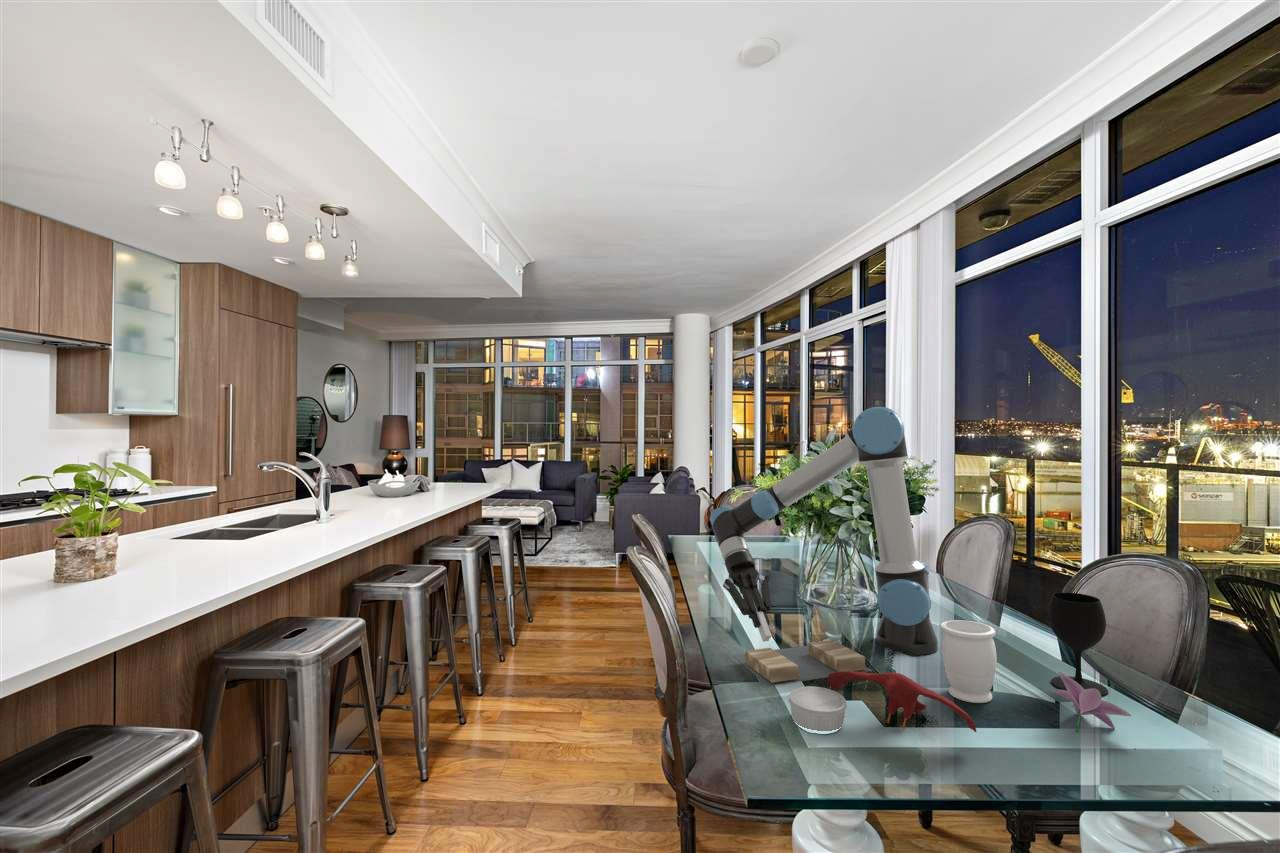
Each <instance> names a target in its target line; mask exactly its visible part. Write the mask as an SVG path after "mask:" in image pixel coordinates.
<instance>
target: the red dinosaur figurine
mask: <svg viewBox="0 0 1280 853" xmlns="http://www.w3.org/2000/svg"><path fill="white" fill-rule="evenodd" d="M855 680H865V681H870V682H872V683H875V684H878V685H881V686H883V687H884V688H885V691H886V692H885V693H886V694H887V696H888V705H887V712H888V717H887V720H883V721H884V722H886V723H887V724H888V725H890V724H891V722H890V720H891V716H892V715H894V714H895V713H896V712H897V710H898V709H900V708H902V709H903V717H904V720H903V723H902V725H900V727H901V728H902V729H906V723H907V720H909V719H911V718H912V714H917V715H921V713H920V712H923V711H926V709H927V708H928V707H927V705H925V704H923V703H922V702H920V701H919V700H918V697H919V696H922V697H924V698H928V699H931V700H933V701H937V702H939V703H941V704H943V705H945V706H946V707H948V708H950V709H951V711H954V712H955V714H957V715H958V716H960V717H961V719H962V720H963V721H965V722H966V724H967V726H968V728H969V729H971V730H972V731H973V732H974V733H977V731H978V730H977V727H976V725H975V722H974V721H973V719H972V718H971V716H969V714H968V713H967V712H966V711H965V710H963V709H962V708H961V707H960V706H959V705H957V704H956V703H955V702H953V701H951V700H950V699H948V698H947V697H946V696H943V695H942V694H939V693H937V692H935V691H934V690H932V689H929V688H928V687H927V688H926V687H923V685H921V684H920V683H917V682H916V681H914V680H913V679H911V678H910V677H907V676H906V675H904V674H903V673H900V672H894V671H893V672H891V671H889V672H883V673H880V672H879V673H875V672H874V673H873V672H872V673H870V672H857V671H856V672H854V671H839V672H834V673H831V674H829V675H828V677H827V682H828V684H829V686H830V688H831V690H837V689H838V690H842V688H843V687H842V685H843V686H847V685H848V684H849V682H851V683H853V682H855Z"/></svg>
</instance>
